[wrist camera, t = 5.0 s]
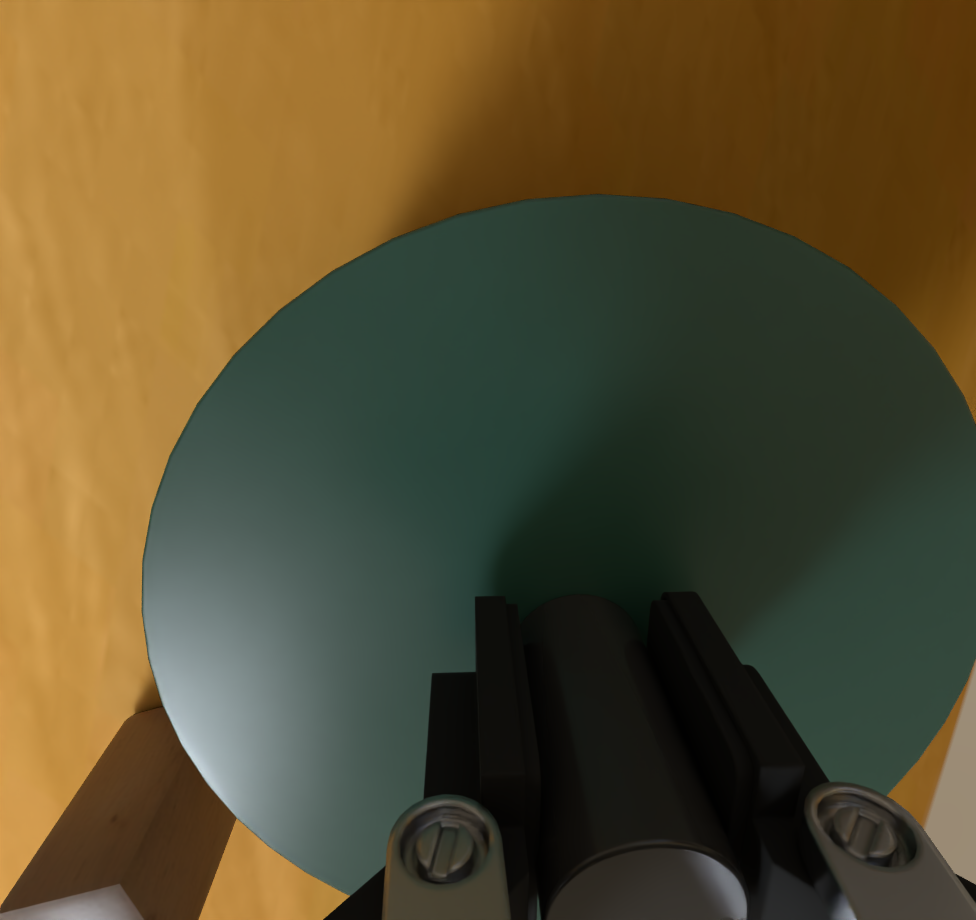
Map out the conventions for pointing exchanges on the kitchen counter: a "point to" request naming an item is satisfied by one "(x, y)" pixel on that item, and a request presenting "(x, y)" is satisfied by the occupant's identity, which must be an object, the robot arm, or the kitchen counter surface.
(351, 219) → the kitchen counter surface
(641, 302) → the tin lid
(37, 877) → the wooden block
